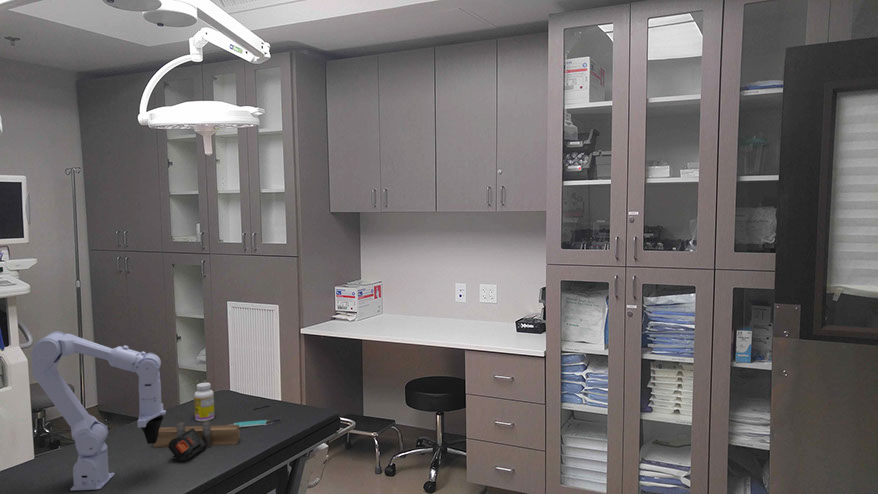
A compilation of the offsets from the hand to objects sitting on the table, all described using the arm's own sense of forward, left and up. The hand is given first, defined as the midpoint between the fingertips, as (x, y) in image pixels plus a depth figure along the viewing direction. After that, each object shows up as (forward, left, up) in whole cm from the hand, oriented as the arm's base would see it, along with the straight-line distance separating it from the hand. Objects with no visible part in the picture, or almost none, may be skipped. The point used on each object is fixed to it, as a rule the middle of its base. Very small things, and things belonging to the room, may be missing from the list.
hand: (152, 442), depth 176 cm
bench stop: (+21, -6, -9) cm, 24 cm away
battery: (+13, -6, -10) cm, 17 cm away
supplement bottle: (+45, -2, -10) cm, 46 cm away
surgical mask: (+37, -20, -10) cm, 43 cm away
